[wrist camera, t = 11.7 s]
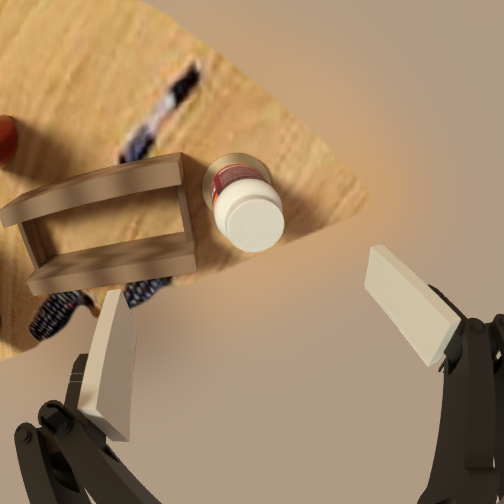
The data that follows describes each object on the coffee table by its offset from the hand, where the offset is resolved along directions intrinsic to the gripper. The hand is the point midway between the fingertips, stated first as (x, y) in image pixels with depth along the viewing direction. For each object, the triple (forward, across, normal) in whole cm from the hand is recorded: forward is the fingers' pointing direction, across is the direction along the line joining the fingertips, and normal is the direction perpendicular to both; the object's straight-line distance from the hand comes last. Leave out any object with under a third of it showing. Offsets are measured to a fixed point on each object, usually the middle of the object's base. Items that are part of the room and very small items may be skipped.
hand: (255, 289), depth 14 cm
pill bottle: (+20, +2, -1) cm, 20 cm away
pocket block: (+21, -15, -2) cm, 26 cm away
